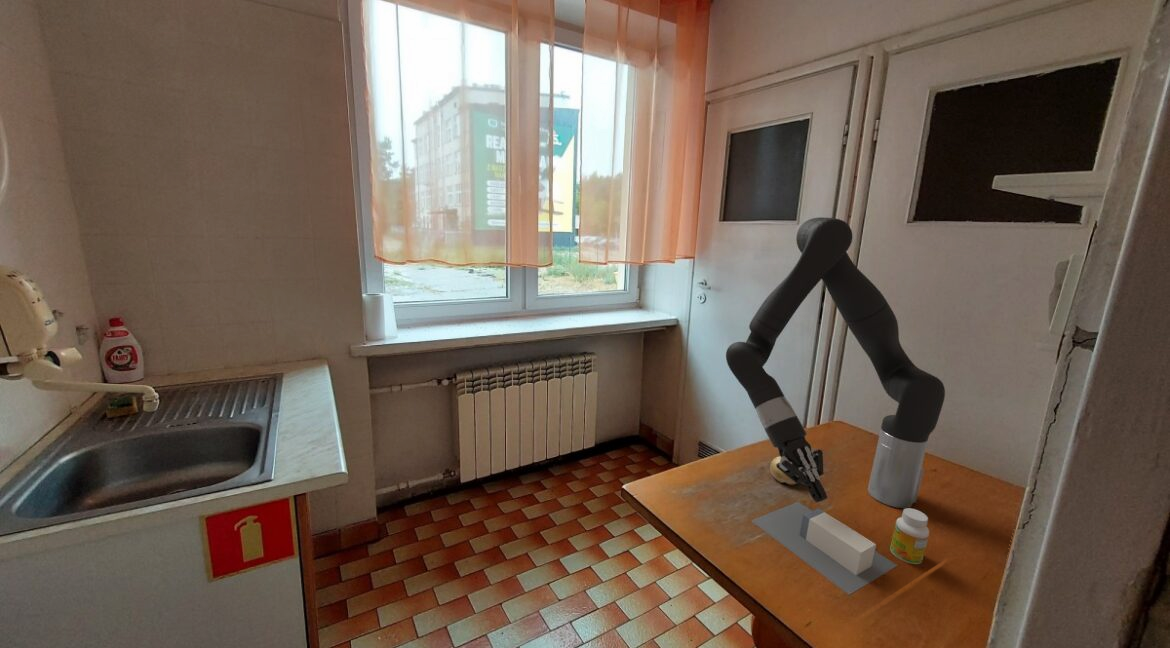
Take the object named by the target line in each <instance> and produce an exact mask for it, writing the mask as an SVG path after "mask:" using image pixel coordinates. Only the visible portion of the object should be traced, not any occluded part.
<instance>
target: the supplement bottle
mask: <svg viewBox="0 0 1170 648" xmlns="http://www.w3.org/2000/svg"><path fill="white" fill-rule="evenodd" d="M928 522H929V517H928V516H927V514H925V513H923V512H922V511H920V510H918V509H916V508H911V507H909V508H903V511H902V514H901V516H900V517H898V518H897V519H896V521H895V525H894V530H893V534H892V538H891V543H890V547H889V549H890V552H891V553H892V554H893V555H894V556H895V557H896V558H897V559H900V560H901V561H902V562H906V563H908V564H914V565H920V564H921V563H922V562H923V559H924V555H925V551H926V549H927V544H928V540H929V537H930V530H929V528H928V526H927V525H928Z"/></svg>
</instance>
